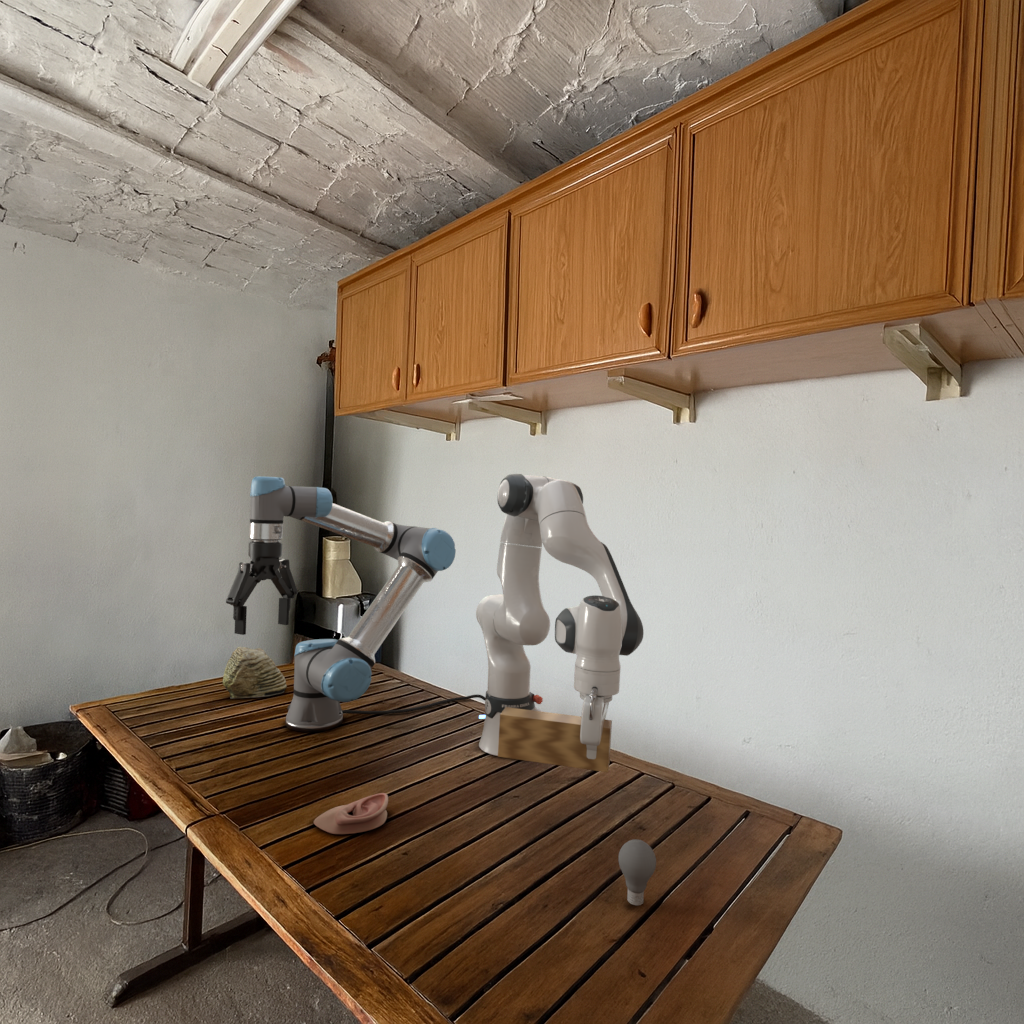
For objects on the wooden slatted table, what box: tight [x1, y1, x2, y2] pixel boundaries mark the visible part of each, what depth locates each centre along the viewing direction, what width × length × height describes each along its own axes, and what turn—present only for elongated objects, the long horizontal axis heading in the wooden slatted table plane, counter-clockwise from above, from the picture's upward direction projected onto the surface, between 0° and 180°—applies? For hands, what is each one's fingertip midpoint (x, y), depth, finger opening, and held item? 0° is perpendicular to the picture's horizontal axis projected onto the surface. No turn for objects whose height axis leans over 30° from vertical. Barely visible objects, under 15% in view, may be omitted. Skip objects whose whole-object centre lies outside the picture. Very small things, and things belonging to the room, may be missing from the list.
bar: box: [497, 707, 613, 773], centre depth 125 cm, size 22×5×8 cm, turn 78°
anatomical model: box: [313, 792, 389, 835], centre depth 124 cm, size 13×4×12 cm
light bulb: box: [618, 838, 657, 906], centre depth 102 cm, size 6×6×10 cm
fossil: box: [222, 646, 288, 699], centre depth 198 cm, size 9×18×15 cm, turn 132°
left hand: (262, 629), depth 152 cm, fingers open, 13 cm apart
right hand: (593, 751), depth 123 cm, fingers closed on bar, 5 cm apart
